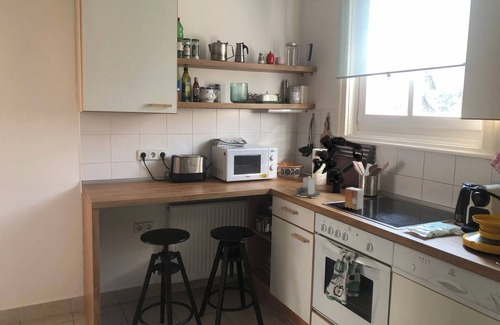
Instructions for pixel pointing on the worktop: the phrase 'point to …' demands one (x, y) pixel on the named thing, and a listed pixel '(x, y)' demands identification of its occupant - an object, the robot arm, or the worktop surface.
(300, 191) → the press bed
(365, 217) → the worktop surface
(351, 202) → the small box
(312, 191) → the housing
